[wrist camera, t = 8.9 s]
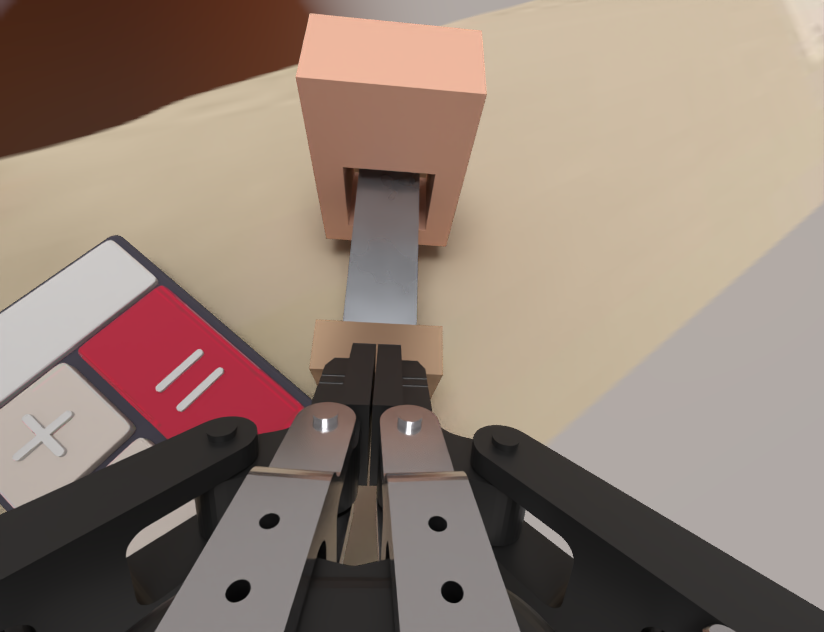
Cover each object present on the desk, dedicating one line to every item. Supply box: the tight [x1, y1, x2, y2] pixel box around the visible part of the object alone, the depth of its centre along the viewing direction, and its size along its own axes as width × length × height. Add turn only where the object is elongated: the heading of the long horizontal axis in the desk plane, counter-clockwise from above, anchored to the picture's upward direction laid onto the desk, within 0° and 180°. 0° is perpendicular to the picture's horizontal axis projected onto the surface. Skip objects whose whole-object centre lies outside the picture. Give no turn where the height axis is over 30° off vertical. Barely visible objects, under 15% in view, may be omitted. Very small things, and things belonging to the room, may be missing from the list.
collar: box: [296, 14, 487, 246], centre depth 21 cm, size 7×4×10 cm, turn 89°
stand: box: [309, 168, 443, 399], centre depth 22 cm, size 5×18×8 cm, turn 178°
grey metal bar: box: [343, 168, 420, 325], centre depth 21 cm, size 3×16×3 cm, turn 179°
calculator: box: [0, 235, 312, 557], centre depth 20 cm, size 11×4×15 cm
